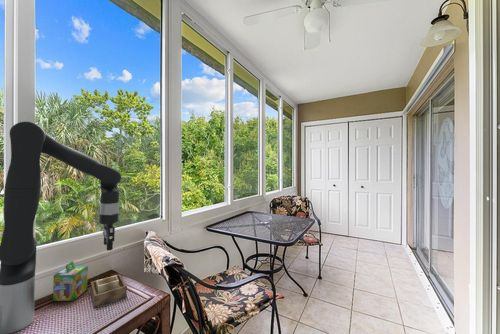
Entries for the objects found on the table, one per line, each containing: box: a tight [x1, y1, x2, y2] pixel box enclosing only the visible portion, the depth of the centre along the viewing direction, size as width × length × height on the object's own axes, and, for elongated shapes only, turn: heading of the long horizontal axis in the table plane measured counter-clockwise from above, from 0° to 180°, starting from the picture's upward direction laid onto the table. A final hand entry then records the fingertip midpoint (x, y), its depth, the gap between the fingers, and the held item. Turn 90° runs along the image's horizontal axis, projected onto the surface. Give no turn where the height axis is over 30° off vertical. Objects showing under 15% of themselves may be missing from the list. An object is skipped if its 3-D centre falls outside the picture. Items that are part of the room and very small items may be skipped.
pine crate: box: [95, 274, 119, 294], centre depth 100 cm, size 8×6×6 cm
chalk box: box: [52, 260, 89, 302], centre depth 99 cm, size 9×9×15 cm
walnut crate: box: [90, 274, 128, 309], centre depth 101 cm, size 12×14×5 cm
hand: (107, 247), depth 101 cm, fingers open, 8 cm apart
